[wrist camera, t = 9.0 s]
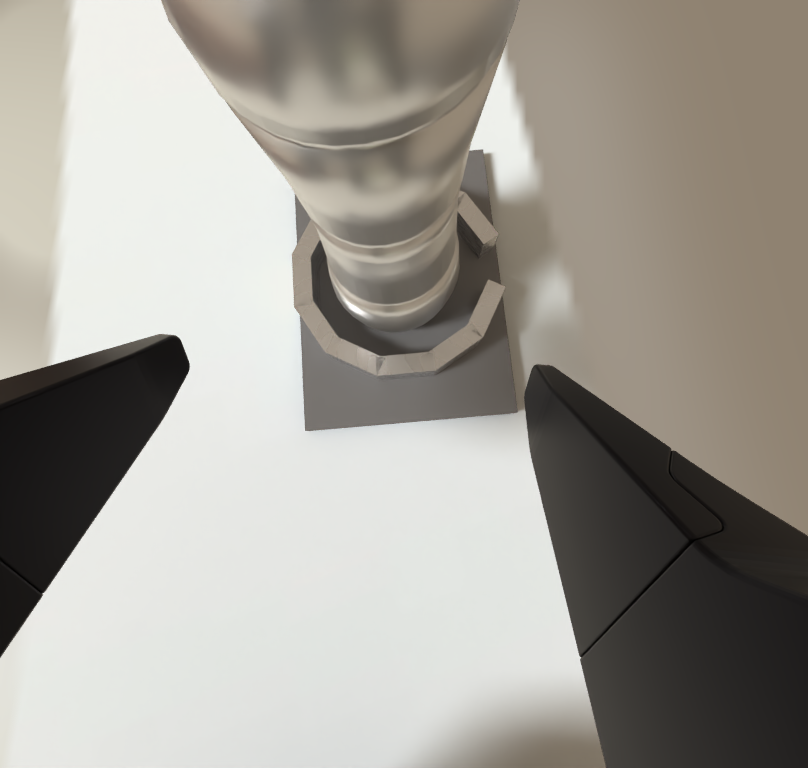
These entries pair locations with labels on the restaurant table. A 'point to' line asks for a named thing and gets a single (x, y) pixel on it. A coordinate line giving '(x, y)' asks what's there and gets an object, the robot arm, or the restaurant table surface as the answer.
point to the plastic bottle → (362, 126)
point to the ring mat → (413, 348)
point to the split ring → (404, 365)
